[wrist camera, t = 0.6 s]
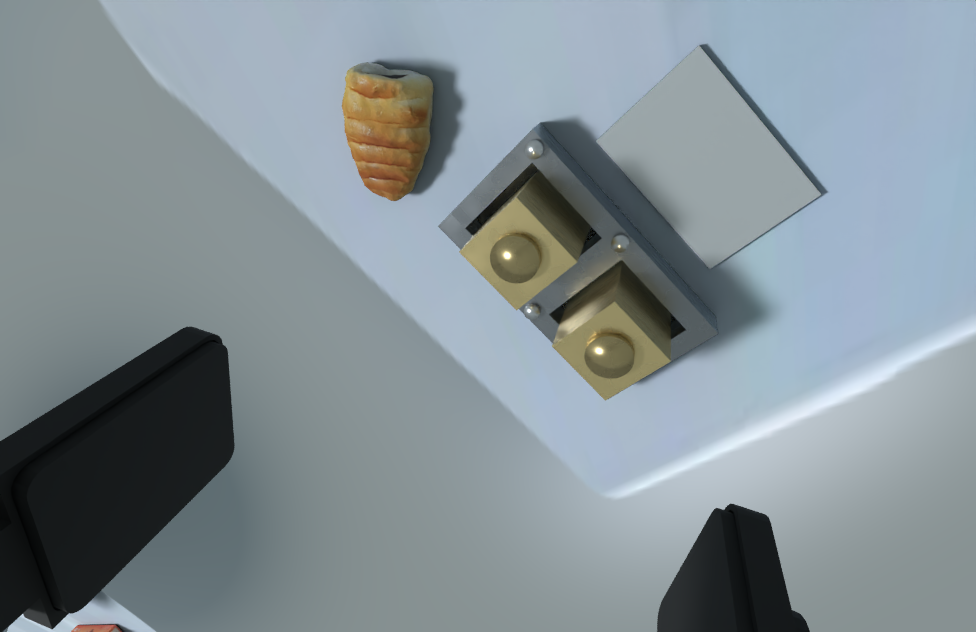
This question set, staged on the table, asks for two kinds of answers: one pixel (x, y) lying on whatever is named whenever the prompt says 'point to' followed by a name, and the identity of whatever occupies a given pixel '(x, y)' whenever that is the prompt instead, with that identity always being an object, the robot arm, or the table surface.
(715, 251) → the mat
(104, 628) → the cracker box
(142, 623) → the table surface
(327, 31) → the table surface
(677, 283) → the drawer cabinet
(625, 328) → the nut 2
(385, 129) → the pastry
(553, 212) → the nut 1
